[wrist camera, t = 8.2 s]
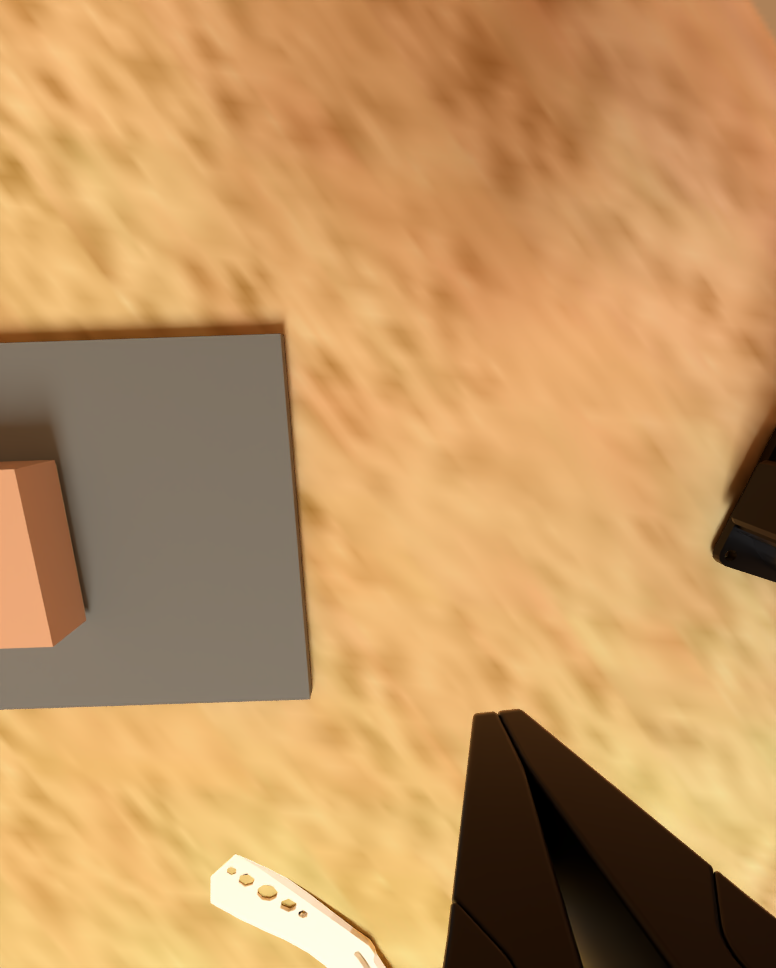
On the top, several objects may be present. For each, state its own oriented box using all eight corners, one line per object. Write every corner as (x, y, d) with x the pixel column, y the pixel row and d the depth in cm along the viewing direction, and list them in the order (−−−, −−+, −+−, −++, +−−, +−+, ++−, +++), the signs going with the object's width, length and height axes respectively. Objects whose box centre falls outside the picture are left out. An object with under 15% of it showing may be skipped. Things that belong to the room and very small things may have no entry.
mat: (283, 335, 18) (280, 333, 17) (311, 690, 21) (310, 699, 21) (-174, 350, 18) (-192, 349, 17) (-70, 703, 21) (-83, 712, 21)
